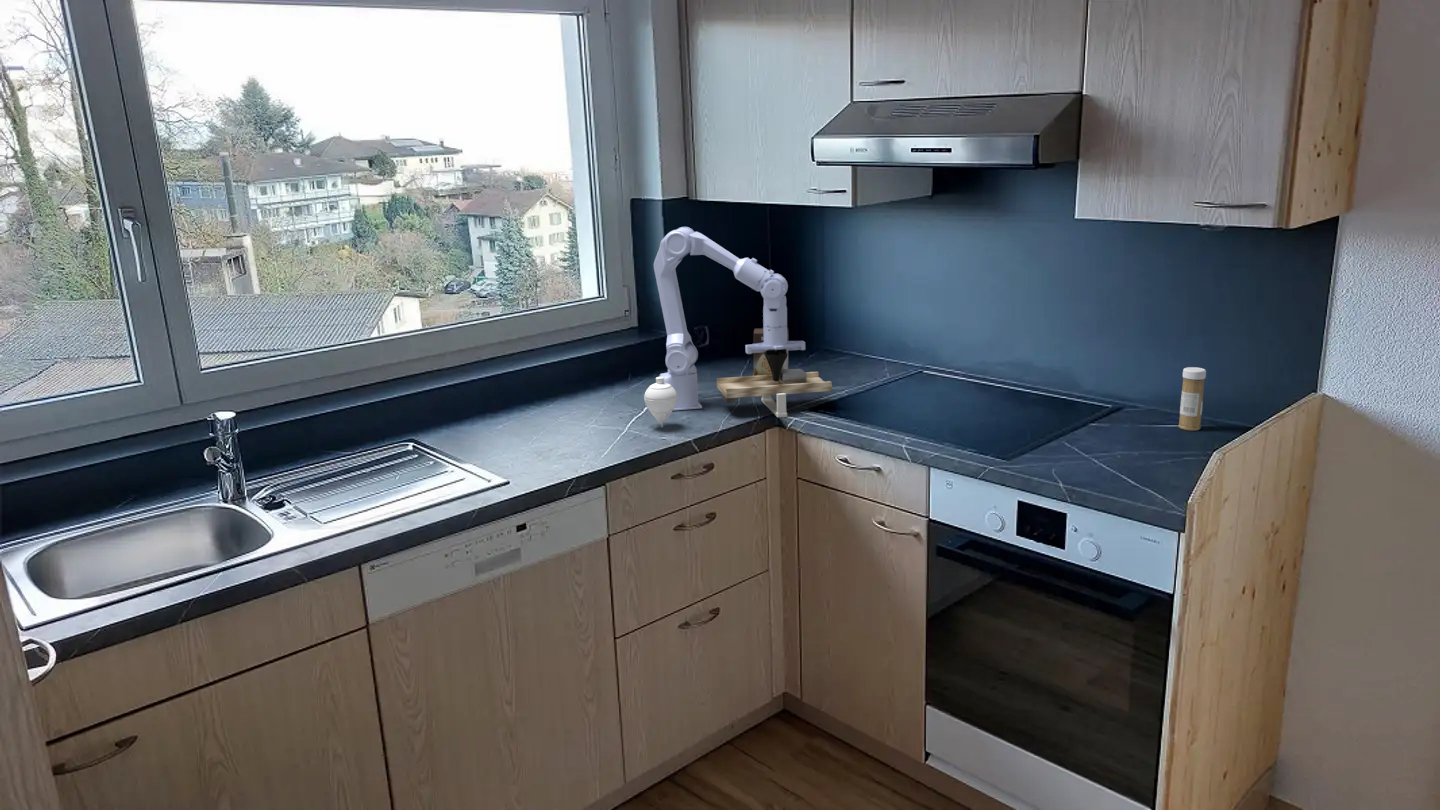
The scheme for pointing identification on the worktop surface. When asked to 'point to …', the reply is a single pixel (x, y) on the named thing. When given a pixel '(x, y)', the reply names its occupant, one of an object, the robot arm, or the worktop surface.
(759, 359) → the coffee box
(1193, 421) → the sprinkles bottle
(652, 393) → the spinning top
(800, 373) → the block
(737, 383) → the balance beam
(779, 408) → the pivot stand
